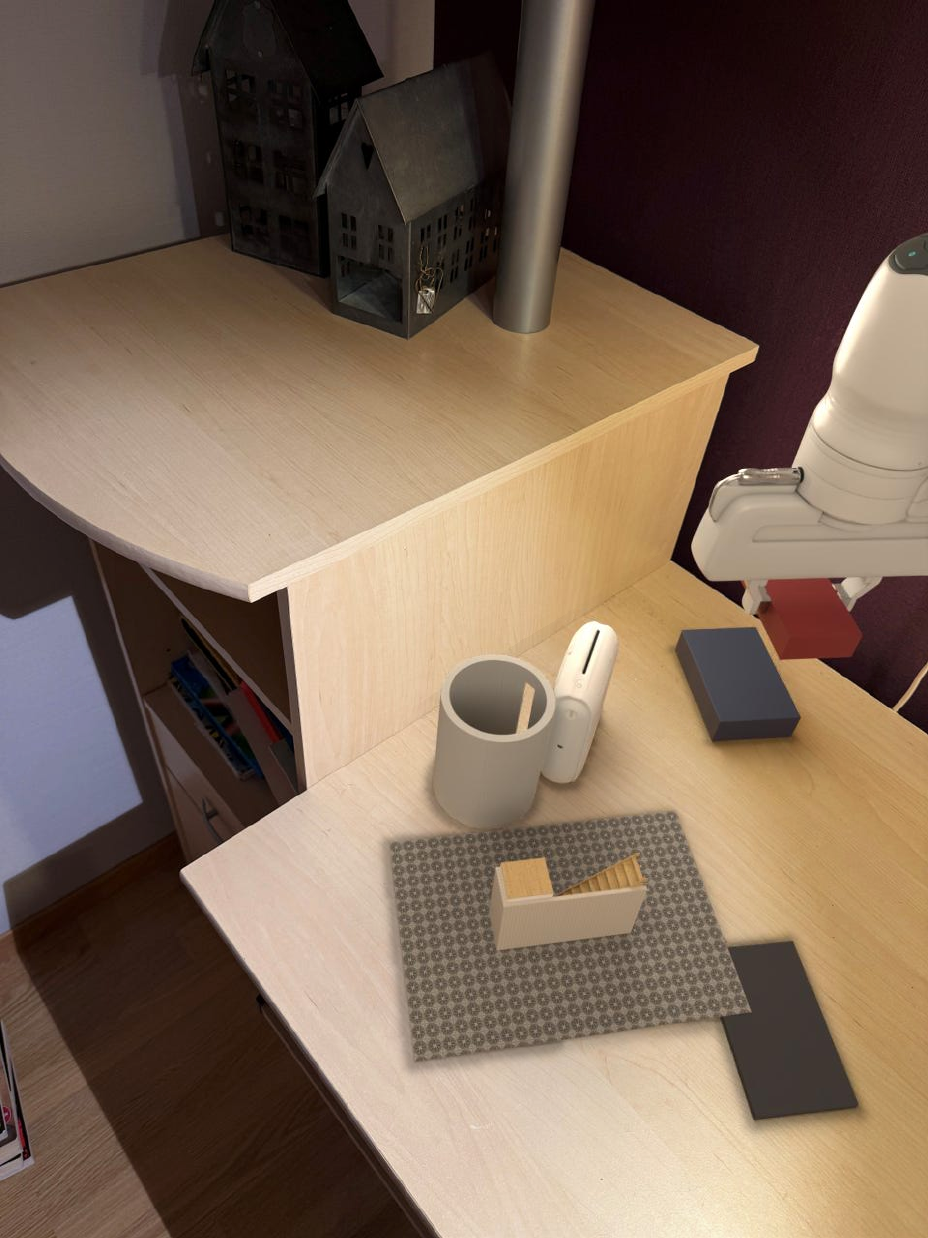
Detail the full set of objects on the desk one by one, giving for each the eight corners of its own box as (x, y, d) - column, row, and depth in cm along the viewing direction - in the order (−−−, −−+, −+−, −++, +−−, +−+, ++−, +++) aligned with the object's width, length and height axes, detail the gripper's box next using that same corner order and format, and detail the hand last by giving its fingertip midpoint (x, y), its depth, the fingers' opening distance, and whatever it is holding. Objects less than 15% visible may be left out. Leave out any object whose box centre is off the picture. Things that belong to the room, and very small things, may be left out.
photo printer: (576, 792, 80) (602, 701, 72) (530, 776, 81) (550, 685, 73) (603, 709, 87) (629, 618, 79) (560, 696, 88) (581, 604, 80)
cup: (419, 811, 78) (425, 722, 69) (450, 732, 84) (460, 642, 76) (521, 842, 76) (540, 755, 68) (545, 759, 83) (566, 671, 74)
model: (489, 911, 71) (496, 860, 66) (619, 895, 73) (636, 844, 68) (496, 950, 69) (504, 901, 64) (630, 933, 71) (649, 883, 65)
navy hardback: (674, 649, 94) (681, 629, 92) (747, 646, 95) (755, 626, 93) (711, 742, 86) (720, 721, 84) (791, 737, 87) (801, 717, 85)
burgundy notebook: (737, 574, 78) (746, 552, 76) (802, 573, 79) (812, 551, 77) (779, 660, 71) (790, 637, 69) (851, 657, 72) (863, 635, 70)
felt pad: (790, 944, 72) (793, 940, 71) (856, 1108, 63) (859, 1105, 63) (699, 952, 70) (701, 949, 70) (753, 1121, 62) (756, 1118, 62)
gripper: (736, 497, 61) (685, 640, 71) (1011, 493, 64) (926, 631, 74) (707, 444, 66) (663, 585, 75) (965, 442, 68) (891, 579, 78)
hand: (795, 608), depth 74 cm, fingers closed on burgundy notebook, 6 cm apart
